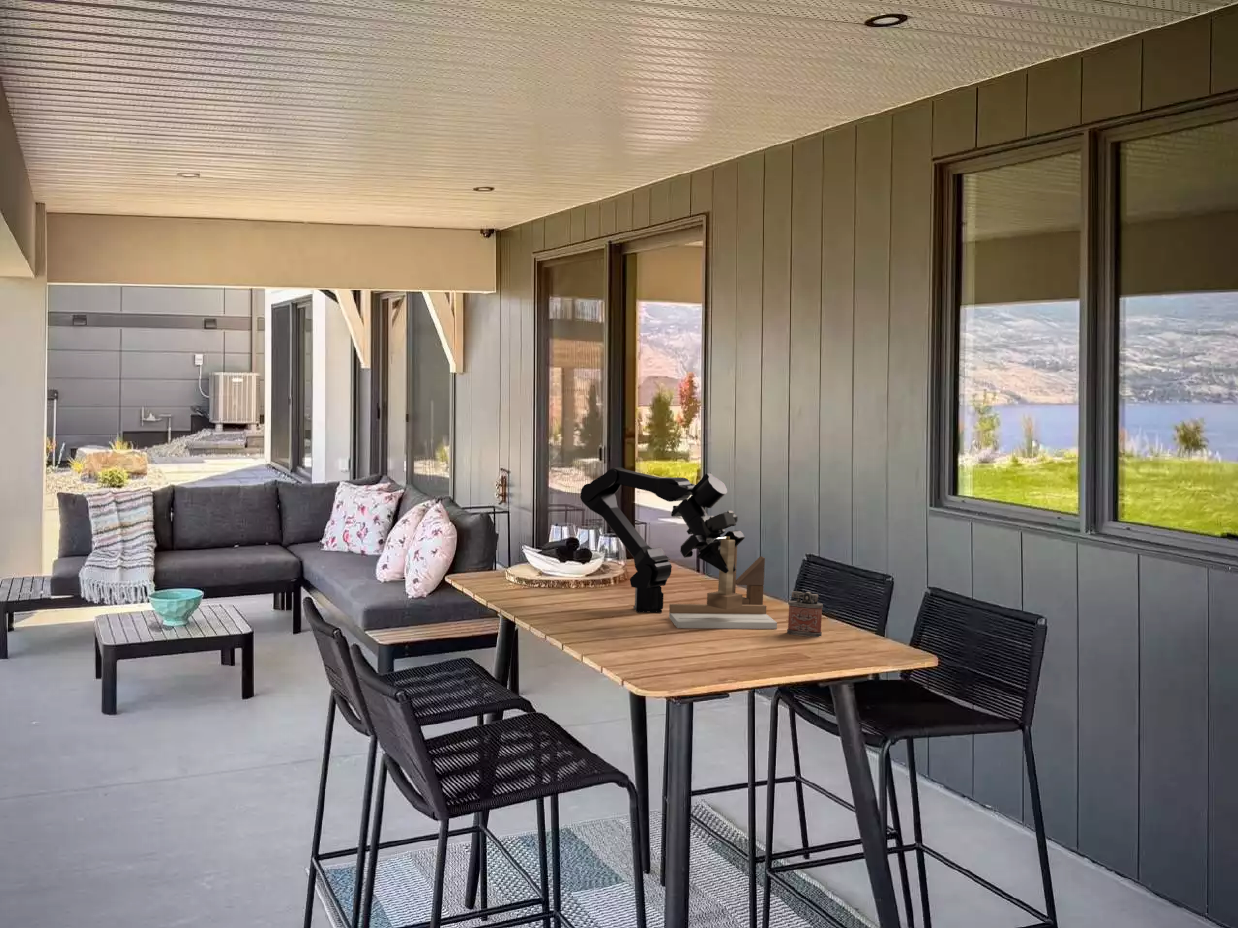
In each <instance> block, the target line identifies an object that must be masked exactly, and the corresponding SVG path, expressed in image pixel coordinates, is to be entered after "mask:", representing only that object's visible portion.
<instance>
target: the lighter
mask: <svg viewBox="0 0 1238 928" xmlns="http://www.w3.org/2000/svg"><path fill="white" fill-rule="evenodd" d="M791 598H796V600H788V603H787V604H788V620H787V630H786V634H788V635H792V636H794V635H795V636H801V637H802V636H803V637H810V636H813V638H820V637H819V636H821V637H822V618H823V616H822V615H823V614H822V613H823V608H824V605H823V603H820V602H818V601H819V594H817V593H816V594H815V593H811V591H806V592H805V593H804V592H802V591H794V590H793V591H792V592H791ZM801 599H802V600H801Z"/></svg>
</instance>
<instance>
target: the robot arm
mask: <svg viewBox="0 0 1238 928" xmlns="http://www.w3.org/2000/svg"><path fill="white" fill-rule="evenodd" d="M622 486H625V487H629V488H632V489H638V490H642V491H645V492H650V493H652V494H654V495H655V496H656V497H658V498H659V499H662V500H664V501H666V502H671V503H673V502H680V503H679V504H678V505H673V506H672V511H671V513H670V516H671V517H674V518H675V517H677V518H679V517H681V519H682V520H683V521H684V523H685V524H686V526H687V528H688V529H687V530H686V533H687V534H688V535H689V537H688V538H686V540H685V541H684V542H683V543H682V544H681V545H680V550H679V551H680V553H681V555H682V556H683V559H684V558H685V559H686V558H692V556H693V554H694V552H693V550H697V549H698V552H699V554H698V555H697V557H696V558H697V559H698V560H702V561H703V562H706V563H708V564H709V565H711V566H713V567H714V568H716V569H718V571H719V570H721V571H722V572H724V573H727V572H728V571H729V570H728V567H727V565H726V563H725V561H724V560H723V558H722V556H721V554H720V547H721V540H722V539H726V537H727V536H729V537H730V540H735V547H736V546H737V547H738V546H739V544H740V543H742V541H743V540H744V539H745V538H746V536H745V534H744V533H743V532H742V531H741V530H728V531H727V532H726V530H727V528H730V527H735V526H736V525H737V523H738V515H736V513H735V512H734V511H733V509H732V510H727V511H724V512H723V513H719V514H717V515H709V514H708V513H707V511H706V510H705V508H707V509H711V508H713V507H714V506H715V505H716V504H718V502H719V501H720V500H722V498H723V497H724V496H725V495H726V494H727V493H728V489H727V486H726V485H725V483H724V482H723V481H721V480H720V479H719V478H717V477H716V476H714V475H713V474H712V473H705V474H704V475H703V476H702V478H701V479H700V480H699V481H698V482H697V483H696V484H694V483H691V482H690V480H689V479H688V478H687V477H678V476H677V477H673V476H672V477H664V476H663V477H661V476H656V475H651V474H648V473H647V474H646V473H644V472H643V473H642V472H639V471H634V470H630V469H625V467H612V468H610V469H608V470H607V471H606V472H605V473H603V474H602V475H600V476H598V477H596V478H595V479H593V480H592V481H591V482H590V483H586V484H584V485H583V486H582V488H581V489H580V490H581V491H580V497H579V498H580V500H581V503H583V505H585V506H586V507H587V508H588V509H589V510H590V511H591V512H594V513H595V514H597V515H598V516H601V517H602V519H603V520H604V522H606V524H607V525H608V526H609V528H610V529H611V530H612V531H613V533H614V534H615V535H616V537H617V538H618V540H620V542H621V543H622V544H623V546H624V547H625V548H626V550H627V551H628V552H629V553H630V555H631V556H632V558H633V561H634V562H633V563H634V569H635V570H636V572H635V573H634V574H633V575H632V576H631V577H630V578H629V582H630V586H631V588H634V605H633V609H634V611H635V612H636V613H663V609H664V592H663V591H662V587H665V586H666V584H667V581H668V579H669V578H670V576H671V575H672V568H673V566H672V563H671V562H670V560H671V558H670V557H668V556H667V555H666V554H665V551H664V550H663V549H662V548H661V547H655V548H652V547H651V546H649V545H648V544H647V542H646V541H645V539H644V538H643V537H642V535H641V534H640V533H639V532H638V530H637V529H636V528H635V527H634V525H633V524H632V523H631V522H630V519H628V518H627V516H626V515H625V514H624V513H623V511H622V510H621V509H620V508H619V506H618V502H617V496H616V493H618V492H619V490H620V488H622ZM725 532H726V533H725ZM723 534H724V535H723ZM722 535H723V536H722ZM735 570H736V571H737V566H736V567H735V563H734V567H733V572H734V571H735Z"/></svg>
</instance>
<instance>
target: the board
mask: <svg viewBox="0 0 1238 928" xmlns="http://www.w3.org/2000/svg"><path fill="white" fill-rule="evenodd" d="M668 609H669V611H668V619H669V620H670V621H671V622H672V623H673V624H674V626H675V627H676V628H677V629H739V630H740V629H743V630H744V629H745V630H746V629H752V630H753V629H755V630H756V629H757V630H761V629H762V630H763V629H764V630H765V629H767V630H769V629H770V630H777V629H778V622H777V621H776V620H775V619H773V618H772V617H771V616H770V615H768V614H767V605H766V604H763V605H742V607H738V608H733V609H727V610H726V609H721V608H717V607H712V606H707V603H697V604H696V603H669V607H668Z"/></svg>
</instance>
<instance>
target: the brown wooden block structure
mask: <svg viewBox="0 0 1238 928" xmlns="http://www.w3.org/2000/svg"><path fill="white" fill-rule="evenodd" d="M737 559H738V545H737V546H736V547H735V550H734V563H735V567H736V568H737V565H738V561H737ZM765 563H766V557H764V556H761V555H760V556H759V557H758V558H757V559H756V560H754V562H753V563H752V564H751V565H749V567H747V569H746V570H744V571H743V572H742V574H741V575H740V576H739V577H738V578H737V569H736V570H735V571H734V572H733V586H732V592H733V593H736V588H737V587H736V586H746V593H745V594H746V597H743V596H742V605H764V590H765V589H764V584H765Z"/></svg>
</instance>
